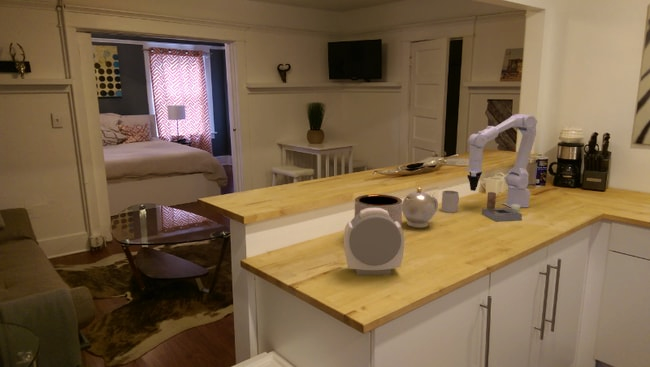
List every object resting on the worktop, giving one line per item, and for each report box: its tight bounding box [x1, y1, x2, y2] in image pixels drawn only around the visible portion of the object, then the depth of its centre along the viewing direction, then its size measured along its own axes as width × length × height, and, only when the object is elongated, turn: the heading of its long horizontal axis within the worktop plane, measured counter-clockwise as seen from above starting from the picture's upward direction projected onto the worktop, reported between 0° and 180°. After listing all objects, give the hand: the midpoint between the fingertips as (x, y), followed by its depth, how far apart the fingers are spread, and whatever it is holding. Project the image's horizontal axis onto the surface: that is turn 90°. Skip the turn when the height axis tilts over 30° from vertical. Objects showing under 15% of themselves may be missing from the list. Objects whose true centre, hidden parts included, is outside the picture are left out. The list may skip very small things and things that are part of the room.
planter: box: [353, 193, 403, 228], centre depth 165 cm, size 18×18×16 cm
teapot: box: [402, 186, 439, 229], centre depth 183 cm, size 18×14×16 cm
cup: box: [441, 190, 460, 214], centre depth 206 cm, size 7×10×9 cm
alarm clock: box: [343, 208, 406, 276], centre depth 136 cm, size 18×8×20 cm, turn 92°
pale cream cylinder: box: [510, 204, 521, 214], centre depth 201 cm, size 4×4×4 cm
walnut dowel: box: [486, 191, 497, 208], centre depth 207 cm, size 4×4×8 cm
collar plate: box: [481, 206, 523, 222], centre depth 196 cm, size 12×12×2 cm
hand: (473, 188), depth 207 cm, fingers open, 7 cm apart
